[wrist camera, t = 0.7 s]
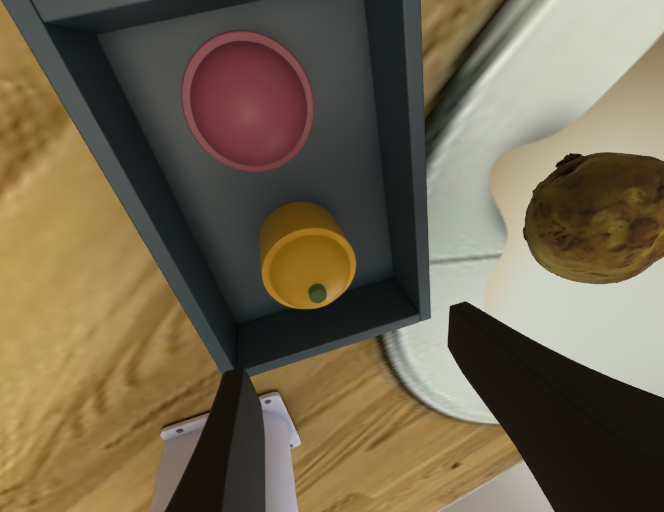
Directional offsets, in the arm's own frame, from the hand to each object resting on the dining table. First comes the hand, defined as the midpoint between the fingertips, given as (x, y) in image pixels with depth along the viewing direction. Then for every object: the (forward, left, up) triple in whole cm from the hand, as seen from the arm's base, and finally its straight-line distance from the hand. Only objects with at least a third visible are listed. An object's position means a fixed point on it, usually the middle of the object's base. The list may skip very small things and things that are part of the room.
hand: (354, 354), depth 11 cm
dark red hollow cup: (-1, +7, -10) cm, 12 cm away
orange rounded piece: (-1, 0, -10) cm, 10 cm away
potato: (+17, -4, -10) cm, 21 cm away
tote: (-1, +3, -10) cm, 11 cm away
